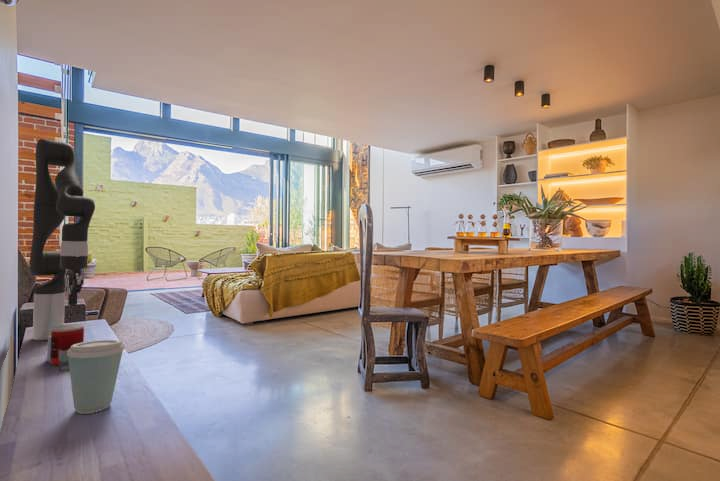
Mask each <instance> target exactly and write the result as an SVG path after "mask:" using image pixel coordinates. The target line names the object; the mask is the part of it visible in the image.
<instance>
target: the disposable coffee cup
mask: <svg viewBox="0 0 720 481" xmlns="http://www.w3.org/2000/svg"><path fill="white" fill-rule="evenodd" d="M124 350H125V344H123V341H122V340H118V339H99V340H98V339H97V340H89V341H84V342H82V343H77V344H74V345H72V346H71V348H70V349H69V350H68V351H67V355H68V361H69V369H70V371H69V376H70V383H71V384H70V386H71V392H72V400H73V409H75V412H76V413H77V414H81V415H87V414H89V415H90V414H95V412H96V413H98V411H100V410H103V409H105V408H107V407H108V408H109V407H110V406H111V403H112V402H113V398H114V397H113V396H114V392H115V387H116V383H117V378H118V373H119V369H120V366H121V365H120V364H121V360H122V355H123V352H124ZM108 408H107V409H108ZM105 410H106V409H105ZM103 411H104V410H103ZM100 412H101V411H100Z"/></svg>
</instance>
